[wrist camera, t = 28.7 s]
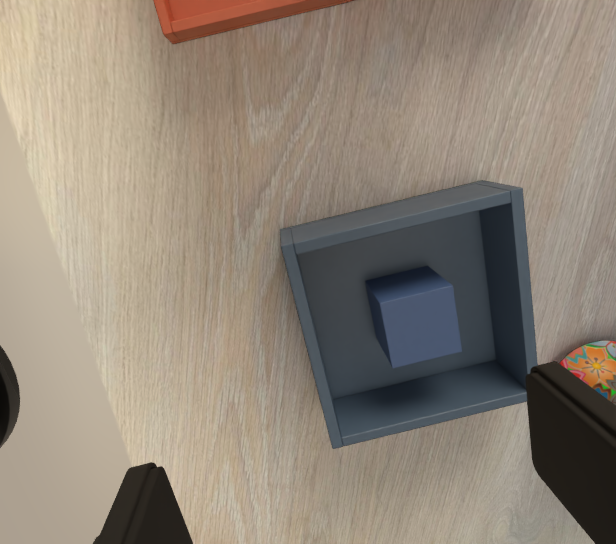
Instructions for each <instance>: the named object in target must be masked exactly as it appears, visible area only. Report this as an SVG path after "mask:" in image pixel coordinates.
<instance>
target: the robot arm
mask: <svg viewBox="0 0 616 544" xmlns="http://www.w3.org/2000/svg"><path fill="white" fill-rule="evenodd" d="M525 382H526V393H527V405H528V416H529V427H530V439H531V450H532V460H533V464H534V467H535V470H536V471H537V473H538V475H539V476H540V477H541V479H542V480H543V481H544V482H545V483H546V485H547V486H548V487H549V488H550V490H551V491H552V492H553V493H554V494H555V496H556V497H557V498H558V499H559V500H560V502H561V503H562V504H563V505H564V506H565V508H566V509H567V510H568V511H569V512H570V514H571V515H572V516H573V517H574V518H575V520H576V521H577V522H578V523H579V524H580V526H581V527H582V528H583V529H584V530H585V532H586V533H587V534H588V535H589V536H590V538H591V539H592V540H593V541H594V543H595V544H616V405H615V404H613V403H612V402H611V401H609V400H608V399H607V398H605V397H604V396H603V395H601V394H600V393H598V392H597V391H596V390H594V389H593V388H592V387H590V386H589V385H588V384H586V383H585V382H584V381H582V380H581V379H580V378H578V377H577V376H576V375H574V374H573V373H571V372H570V371H569V370H567V369H566V368H565V367H563V366H562V365H561V364H559V363H557V362H550V363H546V364H542V365H538V366H534V367H532V368H531V370H530V374H527V375H526V377H525ZM93 544H193V542H192V539H191V537H190V534H189V532H188V529H187V527H186V524H185V521H184V519H183V516H182V514H181V511H180V508H179V506H178V503H177V501H176V498H175V495H174V493H173V490H172V488H171V485H170V482H169V480H168V477H167V475H166V472H165V470H164V468H163V467H157V466H156V465H155V464H154V463H152V462H151V463H147V464H143V465H139V466H135V467H131V468H129V469H128V471H127V472H126V475H125V477H124V479H123V482H122V484H121V486H120V489H119V491H118V494H117V496H116V498H115V501H114V503H113V505H112V508H111V510H110V512H109V515H108V517H107V519H106V522H105V524H104V527H103V529H102V531H101V533H100V535H99V536H98V537H97V538H96V539H95V541H94V542H93Z"/></svg>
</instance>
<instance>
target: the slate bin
mask: <svg viewBox="0 0 616 544" xmlns="http://www.w3.org/2000/svg"><path fill="white" fill-rule="evenodd" d="M280 240H281V249H282V253H283V257H284V261H285V265H286V269H287V273H288V277H289V281H290V284H291V288H292V292H293V296H294V300H295V304H296V308H297V312H298V316H299V320H300V324H301V327H302V331H303V335H304V339H305V343H306V347H307V351H308V355H309V359H310V363H311V367H312V370H313V374H314V378H315V382H316V386H317V390H318V394H319V398H320V402H321V406H322V409H323V413H324V417H325V421H326V425H327V429H328V433H329V437H330V441H331V445H332V448H333V449H335V448H339V447H343V446H347V445H351V444H355V443H359V442H363V441H367V440H371V439H375V438H379V437H384V436H388V435H392V434H396V433H400V432H404V431H408V430H412V429H416V428H420V427H424V426H428V425H433V424H437V423H441V422H445V421H449V420H453V419H457V418H461V417H465V416H469V415H473V414H477V413H482V412H486V411H490V410H494V409H498V408H502V407H506V406H510V405H514V404H518V403H522V402H526V401H527V393H526V382H525V377H526V375H527V374H530V370H531V368H532V367H534V366H538V364H537V352H536V341H535V329H534V317H533V305H532V294H531V282H530V270H529V258H528V247H527V235H526V223H525V211H524V200H523V188H521V187H516V186H510V185H505V184H499V183H494V182H488V181H478V182H474V183H469V184H465V185H461V186H457V187H453V188H449V189H445V190H441V191H436V192H432V193H428V194H424V195H420V196H416V197H412V198H408V199H403V200H399V201H395V202H391V203H387V204H383V205H379V206H375V207H370V208H366V209H362V210H358V211H354V212H350V213H346V214H342V215H337V216H333V217H329V218H325V219H321V220H317V221H313V222H309V223H304V224H300V225H296V226H292V227H288V228H284V229H280ZM424 266H429V267H430V268H431V269H433V270H434V271H435V272H436V273H438V274H439V275H440V276H441V277H443V278H444V279H445V280H446V281H448V282H449V283H450V284H451V285H453V291H454V298H455V305H456V312H457V319H458V326H459V333H460V341H461V348H462V352H458V353H454V354H450V355H446V356H442V357H438V358H434V359H430V360H425V361H421V362H417V363H413V364H409V365H405V366H401V367H397V368H392V367H391V365H390V363H389V361H388V359H387V357H386V355H385V353H384V352H383V350H382V348H381V346H380V344H379V342H378V340H377V338H376V333H375V328H374V323H373V319H372V314H371V309H370V304H369V299H368V294H367V289H366V284H365V281H366V280H370V279H374V278H379V277H383V276H387V275H391V274H395V273H399V272H403V271H407V270H411V269H416V268H420V267H424Z"/></svg>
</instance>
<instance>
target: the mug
mask: <svg viewBox="0 0 616 544" xmlns="http://www.w3.org/2000/svg"><path fill="white" fill-rule="evenodd" d="M559 364H561V365H562V366H563V367H565V368H566V369H567V370H569V371H570V372H571V373H573V374H574V375H576V376H577V377H578V378H580V379H581V380H582V381H584V382H585V383H586V384H588V385H589V386H590V387H592V388H593V389H594V390H596V391H597V392H598V393H600V394H601V395H603V396H604V397H605V398H607V399H608V400H609V401H611V402H612V403H613V404H615V405H616V342H615V341H597V342H593V343H589V344H586V345H583V346H581V347H579V348H577V349H575V350H574V351H572V352H571V353H570V354H568V355H567V356H566V357H565V358H564V359H563V360H562V361H561V362H560V363H559Z"/></svg>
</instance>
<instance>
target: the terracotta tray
mask: <svg viewBox="0 0 616 544" xmlns="http://www.w3.org/2000/svg"><path fill="white" fill-rule="evenodd" d="M153 1H154V4H155V8H156V11H157V14H158V18H159V21H160V25H161V28H162V31H163V34H164V35H165V36H166V37H167V38H168V39H169V40H170V41H171V42H172V43H173V44H175V43H179V42H183V41H188V40H192V39H196V38H200V37H204V36H208V35H213V34H217V33H221V32H225V31H229V30H233V29H238V28H242V27H246V26H250V25H254V24H258V23H263V22H267V21H271V20H275V19H279V18H283V17H288V16H292V15H296V14H300V13H304V12H308V11H313V10H317V9H321V8H325V7H329V6H333V5H338V4H342V3H346V2H350V1H354V0H153Z"/></svg>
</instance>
